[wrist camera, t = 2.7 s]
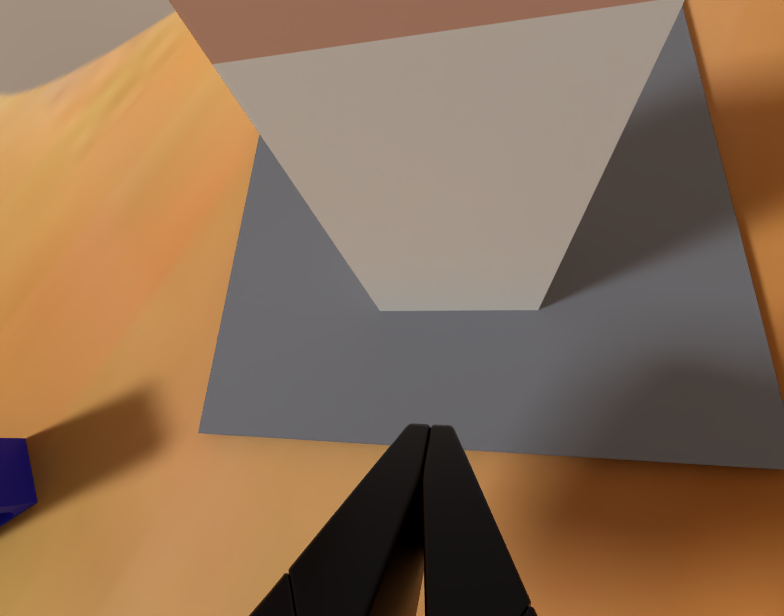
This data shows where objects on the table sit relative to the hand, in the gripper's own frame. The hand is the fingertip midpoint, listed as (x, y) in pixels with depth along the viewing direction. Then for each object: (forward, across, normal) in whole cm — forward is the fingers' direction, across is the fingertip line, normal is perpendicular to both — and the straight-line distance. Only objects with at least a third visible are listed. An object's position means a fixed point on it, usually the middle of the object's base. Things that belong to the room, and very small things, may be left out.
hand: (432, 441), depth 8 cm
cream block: (+10, 0, 0) cm, 10 cm away
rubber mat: (+14, 0, -3) cm, 14 cm away
